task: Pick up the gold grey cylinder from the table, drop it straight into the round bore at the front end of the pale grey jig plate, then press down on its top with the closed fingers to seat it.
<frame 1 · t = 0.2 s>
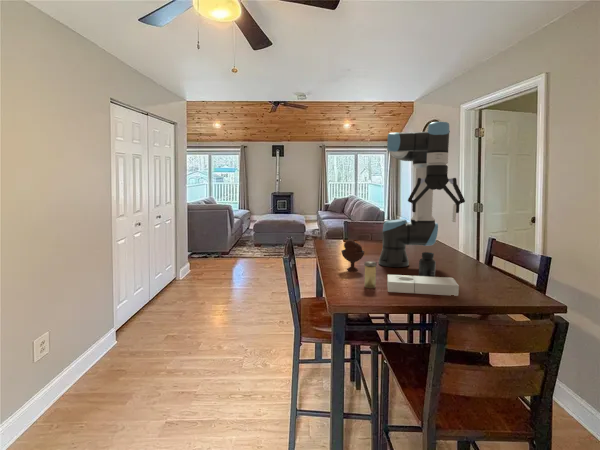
hand: (434, 221, 143), 28 cm above the table, tool pointing down, fingers open, 13 cm apart
jig: (421, 289, 150), on the table
ice cream bowl: (352, 270, 183), on the table
supplement bottle: (426, 280, 165), on the table
gold grey cylinder: (369, 286, 154), on the table
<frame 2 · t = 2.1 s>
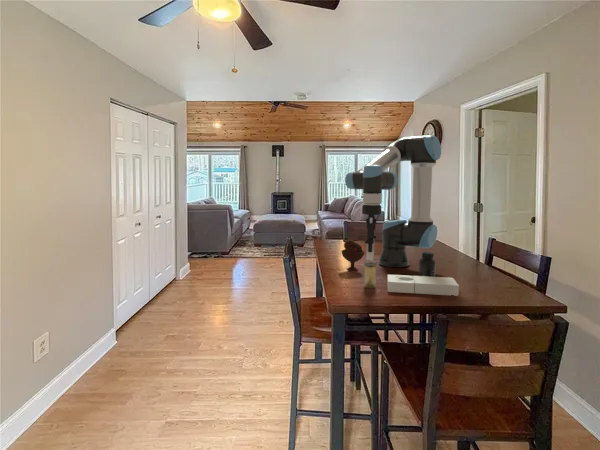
hand: (370, 257, 153), 12 cm above the table, tool pointing down, fingers open, 13 cm apart
nothing on the table moved.
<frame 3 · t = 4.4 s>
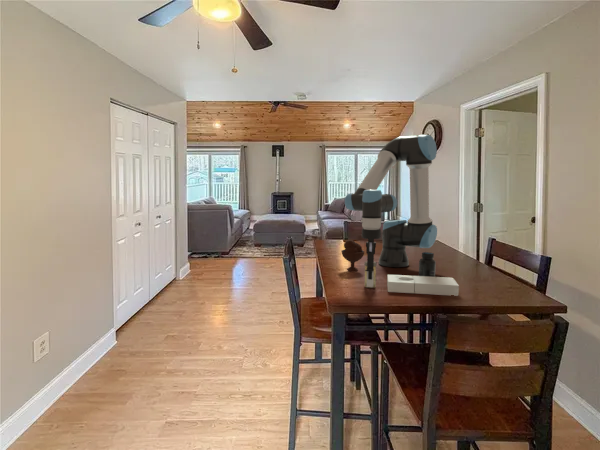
hand: (370, 285, 154), 1 cm above the table, tool pointing down, fingers closed on gold grey cylinder, 4 cm apart
gold grey cylinder: (370, 286, 154), on the table, touching gripper
everything else where it was.
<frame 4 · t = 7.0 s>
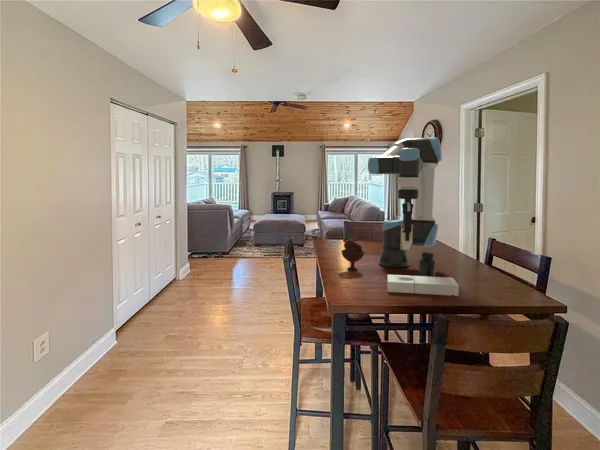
hand: (406, 247, 150), 17 cm above the table, tool pointing down, fingers closed on gold grey cylinder, 4 cm apart
gold grey cylinder: (406, 249, 150), point 16 cm above the table, touching gripper
everything else where it was.
when the fingers open (6 cm above the table, at t = 9.8 s): gold grey cylinder drops 5 cm, resting in jig.
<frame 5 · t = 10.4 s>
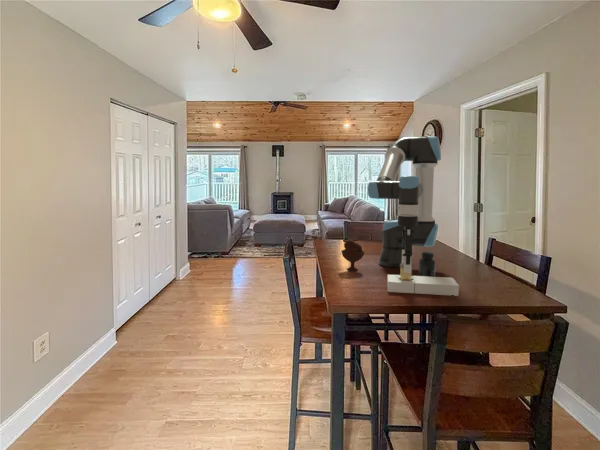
hand: (406, 268, 151), 8 cm above the table, tool pointing down, fingers open, 13 cm apart
gold grey cylinder: (405, 288, 152), resting in jig
everything else where it was.
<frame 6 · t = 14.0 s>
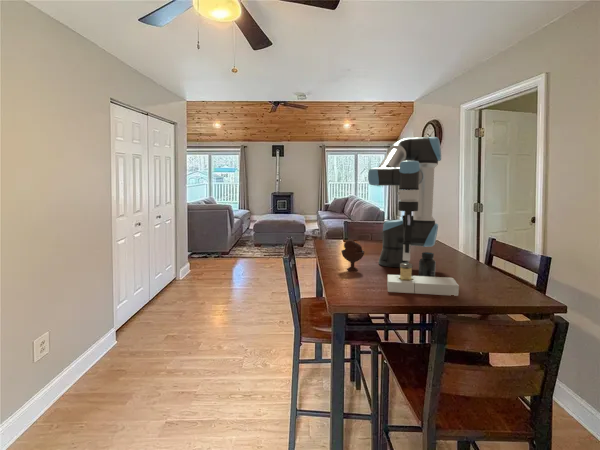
hand: (406, 260, 150), 12 cm above the table, tool pointing down, fingers closed
nothing on the table moved.
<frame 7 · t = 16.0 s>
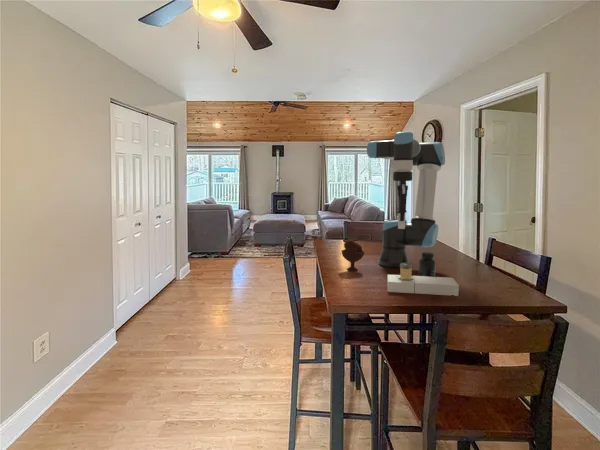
hand: (401, 228, 157), 23 cm above the table, tool pointing down, fingers closed
nothing on the table moved.
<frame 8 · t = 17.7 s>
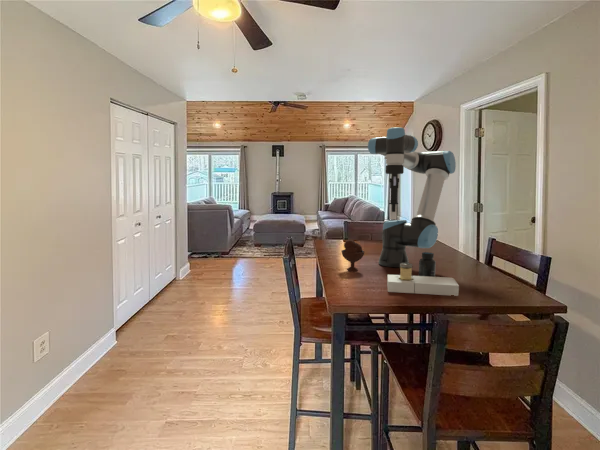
hand: (393, 219, 165), 26 cm above the table, tool pointing down, fingers closed
nothing on the table moved.
at the end: gold grey cylinder 0.1 cm from the target spot on the jig, point 0.0 cm above the jig's base; gold grey cylinder tilted 0°; the gripper is holding nothing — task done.
